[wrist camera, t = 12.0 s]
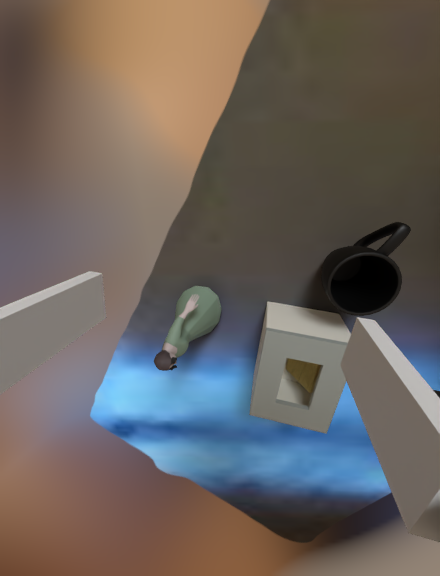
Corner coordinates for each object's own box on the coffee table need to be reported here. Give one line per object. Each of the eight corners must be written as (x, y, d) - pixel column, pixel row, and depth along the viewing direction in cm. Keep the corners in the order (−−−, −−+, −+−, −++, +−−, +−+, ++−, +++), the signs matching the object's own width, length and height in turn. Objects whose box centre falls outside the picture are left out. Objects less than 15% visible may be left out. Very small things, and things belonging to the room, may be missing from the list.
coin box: (267, 301, 42) (266, 330, 33) (339, 313, 40) (358, 347, 31) (253, 373, 48) (249, 414, 39) (315, 386, 46) (326, 433, 37)
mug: (403, 234, 35) (448, 246, 26) (346, 298, 39) (368, 327, 31) (354, 205, 34) (382, 208, 26) (303, 273, 39) (312, 294, 31)
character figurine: (205, 349, 48) (171, 428, 32) (168, 332, 49) (116, 401, 32) (236, 283, 42) (213, 338, 26) (194, 263, 42) (144, 305, 26)
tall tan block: (292, 340, 41) (319, 362, 36) (305, 337, 42) (333, 358, 37) (285, 368, 43) (309, 393, 38) (298, 365, 45) (323, 388, 40)
